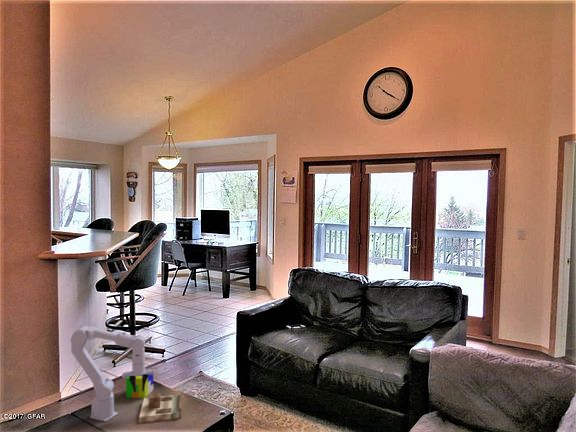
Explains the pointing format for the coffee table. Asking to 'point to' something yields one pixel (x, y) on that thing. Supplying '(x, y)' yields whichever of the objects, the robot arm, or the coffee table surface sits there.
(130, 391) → the puzzle toy
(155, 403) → the block
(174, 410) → the trap board
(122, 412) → the coffee table surface
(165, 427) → the coffee table surface
